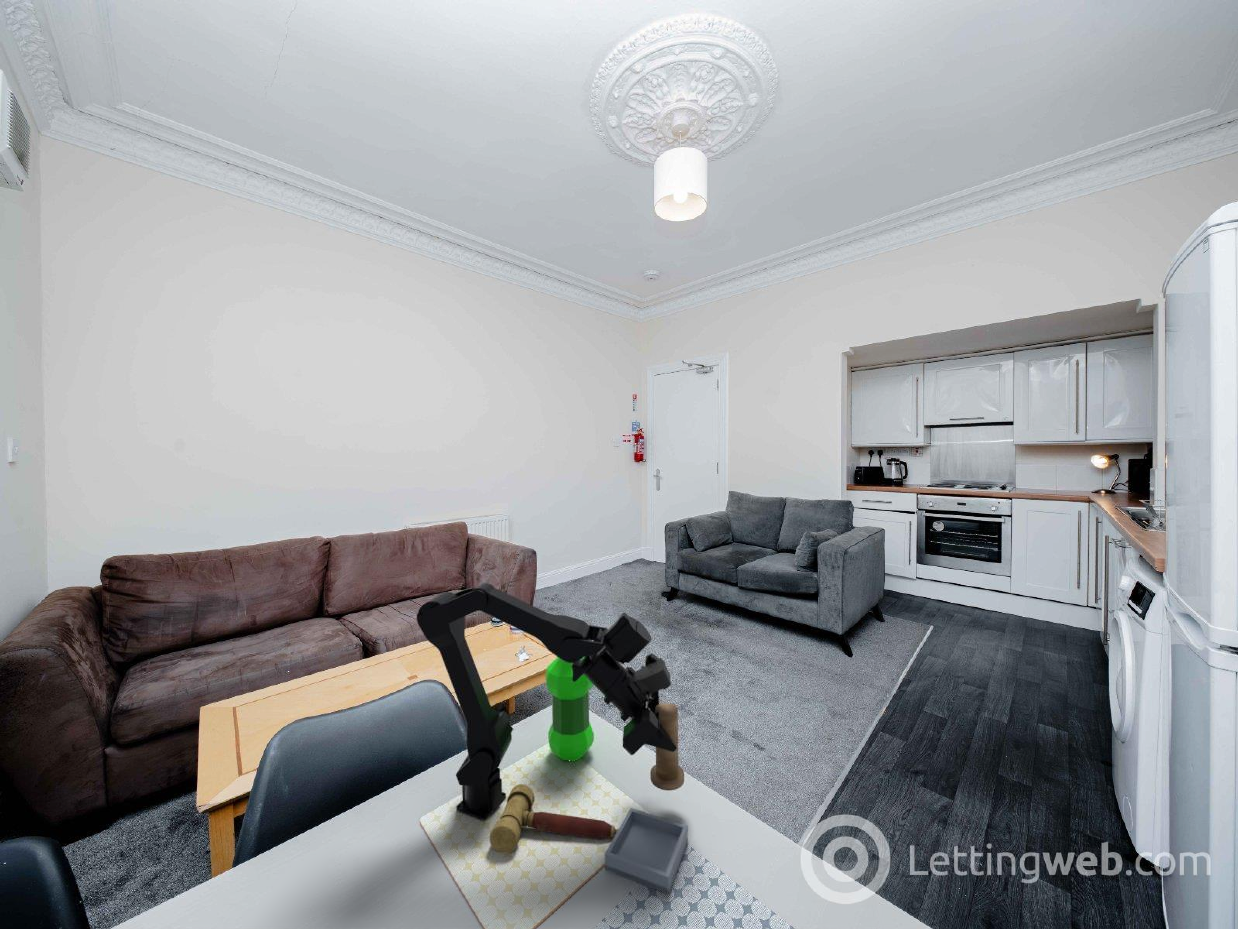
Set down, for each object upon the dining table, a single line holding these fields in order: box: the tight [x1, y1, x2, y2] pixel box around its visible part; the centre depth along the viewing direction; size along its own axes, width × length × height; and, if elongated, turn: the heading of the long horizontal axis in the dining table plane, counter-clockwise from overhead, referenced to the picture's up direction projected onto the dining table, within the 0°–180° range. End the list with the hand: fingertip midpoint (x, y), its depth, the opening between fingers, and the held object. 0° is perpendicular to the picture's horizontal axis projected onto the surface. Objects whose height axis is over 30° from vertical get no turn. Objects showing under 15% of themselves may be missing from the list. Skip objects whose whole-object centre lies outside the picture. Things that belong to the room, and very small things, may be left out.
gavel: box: [489, 783, 619, 854], centre depth 79 cm, size 21×5×10 cm
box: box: [604, 807, 689, 895], centre depth 74 cm, size 10×10×2 cm
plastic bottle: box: [545, 656, 595, 762], centre depth 100 cm, size 10×10×25 cm
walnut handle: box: [649, 702, 685, 791], centre depth 83 cm, size 6×6×12 cm
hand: (674, 742), depth 83 cm, fingers closed on walnut handle, 4 cm apart
